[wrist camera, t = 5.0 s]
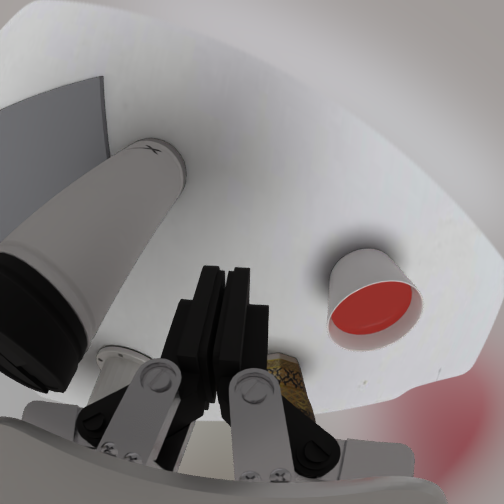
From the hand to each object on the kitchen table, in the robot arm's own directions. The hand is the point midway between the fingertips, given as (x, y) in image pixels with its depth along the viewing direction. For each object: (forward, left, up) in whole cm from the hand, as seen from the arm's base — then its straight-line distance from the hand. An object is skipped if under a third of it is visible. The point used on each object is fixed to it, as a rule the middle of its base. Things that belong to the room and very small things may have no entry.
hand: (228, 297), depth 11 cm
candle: (-10, -11, -15) cm, 21 cm away
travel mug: (0, +9, -15) cm, 17 cm away
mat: (0, +26, -15) cm, 29 cm away
